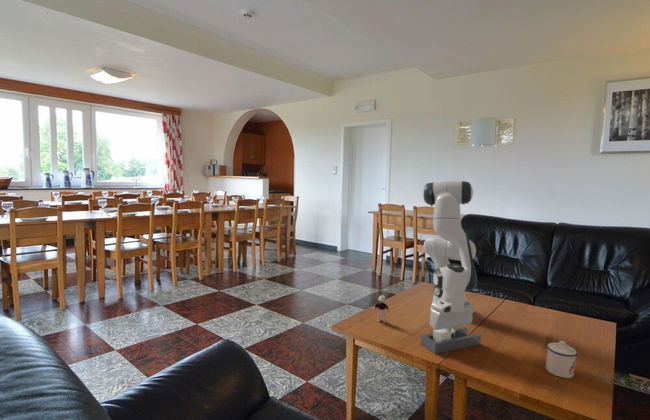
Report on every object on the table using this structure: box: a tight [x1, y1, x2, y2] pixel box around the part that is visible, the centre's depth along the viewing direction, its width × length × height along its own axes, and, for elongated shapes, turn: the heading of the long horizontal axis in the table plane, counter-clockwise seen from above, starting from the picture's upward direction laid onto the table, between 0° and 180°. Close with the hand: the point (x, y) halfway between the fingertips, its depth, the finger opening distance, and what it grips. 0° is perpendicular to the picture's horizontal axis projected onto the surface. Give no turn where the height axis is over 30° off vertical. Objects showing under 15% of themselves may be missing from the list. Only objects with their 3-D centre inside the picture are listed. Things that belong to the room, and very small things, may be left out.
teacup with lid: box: [545, 340, 578, 379], centre depth 132 cm, size 12×9×12 cm
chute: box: [420, 326, 482, 355], centre depth 150 cm, size 24×9×4 cm, turn 114°
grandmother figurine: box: [372, 294, 390, 324], centre depth 171 cm, size 8×4×13 cm, turn 84°
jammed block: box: [432, 329, 451, 342], centre depth 148 cm, size 5×5×5 cm
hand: (450, 336), depth 150 cm, fingers closed
